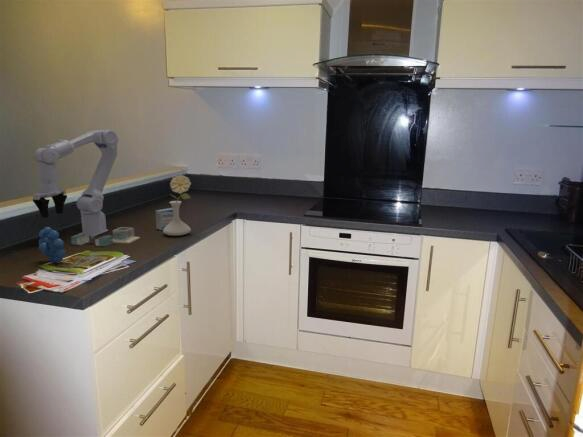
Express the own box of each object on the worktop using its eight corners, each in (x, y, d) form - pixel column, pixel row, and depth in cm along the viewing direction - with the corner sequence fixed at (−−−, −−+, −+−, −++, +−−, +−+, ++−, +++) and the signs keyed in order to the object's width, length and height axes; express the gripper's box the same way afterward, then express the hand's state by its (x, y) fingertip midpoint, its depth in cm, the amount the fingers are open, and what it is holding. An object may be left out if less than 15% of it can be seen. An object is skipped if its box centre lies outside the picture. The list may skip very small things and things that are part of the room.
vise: (80, 241, 167) (79, 233, 167) (113, 243, 165) (112, 235, 164) (71, 244, 162) (70, 236, 162) (105, 246, 160) (104, 238, 159)
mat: (119, 237, 173) (119, 235, 173) (140, 238, 172) (139, 236, 171) (107, 242, 166) (107, 240, 165) (128, 243, 164) (128, 242, 164)
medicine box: (161, 231, 184) (160, 211, 182) (156, 229, 187) (154, 209, 185) (177, 227, 190) (176, 208, 188) (172, 226, 193) (170, 207, 191)
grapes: (30, 263, 140) (25, 227, 137) (49, 258, 146) (45, 223, 143) (52, 269, 135) (47, 232, 132) (71, 263, 140) (68, 227, 138)
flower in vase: (157, 236, 174) (153, 175, 169) (172, 230, 185) (169, 172, 180) (186, 239, 171) (183, 176, 166) (199, 232, 182) (197, 173, 176)
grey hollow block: (121, 236, 172) (121, 227, 171) (134, 237, 171) (133, 227, 170) (113, 240, 166) (112, 230, 166) (126, 241, 165) (125, 231, 164)
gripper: (43, 182, 154) (47, 219, 157) (71, 178, 168) (74, 212, 170) (26, 182, 155) (30, 218, 158) (55, 177, 169) (58, 211, 172)
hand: (52, 215), depth 164 cm, fingers open, 7 cm apart
